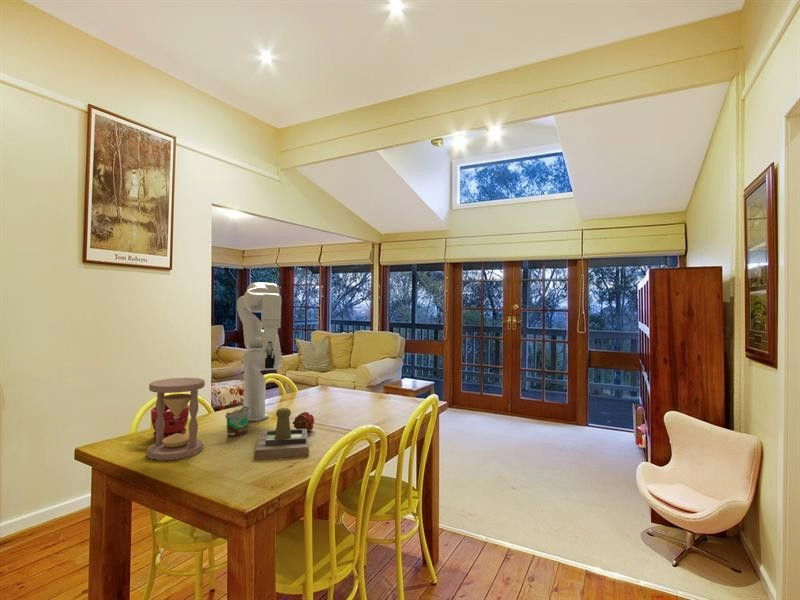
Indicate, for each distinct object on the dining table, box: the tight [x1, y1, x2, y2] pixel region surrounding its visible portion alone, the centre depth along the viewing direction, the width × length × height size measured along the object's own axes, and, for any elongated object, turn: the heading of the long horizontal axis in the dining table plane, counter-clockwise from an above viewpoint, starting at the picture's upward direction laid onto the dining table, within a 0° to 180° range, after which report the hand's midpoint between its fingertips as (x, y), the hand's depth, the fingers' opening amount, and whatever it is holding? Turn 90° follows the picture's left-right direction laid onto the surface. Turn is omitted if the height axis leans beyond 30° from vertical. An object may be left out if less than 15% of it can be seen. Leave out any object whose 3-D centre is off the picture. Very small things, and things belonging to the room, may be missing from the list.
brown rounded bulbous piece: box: [275, 407, 292, 439], centre depth 156 cm, size 6×6×11 cm
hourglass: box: [146, 377, 206, 461], centre depth 148 cm, size 18×18×25 cm
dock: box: [254, 428, 310, 460], centre depth 155 cm, size 22×18×4 cm
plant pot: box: [150, 403, 190, 439], centre depth 165 cm, size 13×13×12 cm
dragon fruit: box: [292, 411, 315, 431], centre depth 176 cm, size 8×8×12 cm
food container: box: [225, 405, 251, 438], centre depth 169 cm, size 12×6×10 cm, turn 168°
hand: (269, 366), depth 167 cm, fingers open, 9 cm apart
